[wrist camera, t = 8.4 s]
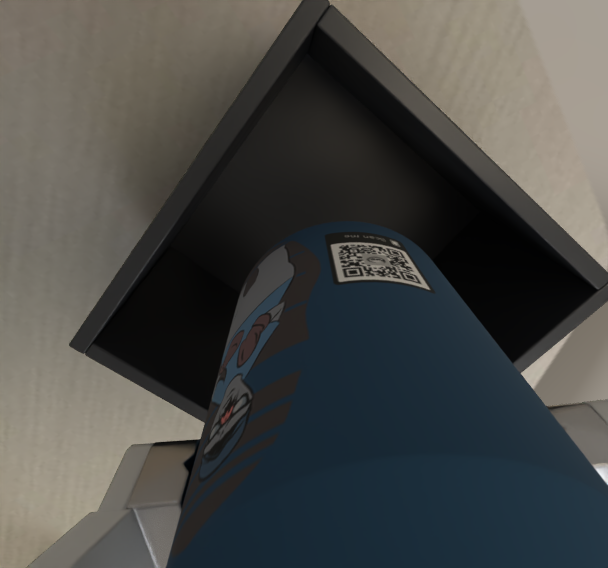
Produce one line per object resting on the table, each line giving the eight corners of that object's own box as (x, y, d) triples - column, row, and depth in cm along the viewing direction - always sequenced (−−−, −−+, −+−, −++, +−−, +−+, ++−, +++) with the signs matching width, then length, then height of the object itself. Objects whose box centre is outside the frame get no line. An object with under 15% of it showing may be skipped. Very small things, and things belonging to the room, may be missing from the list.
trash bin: (159, 242, 24) (67, 346, 15) (304, 34, 20) (312, -15, 11) (335, 362, 28) (356, 509, 18) (489, 206, 24) (624, 288, 14)
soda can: (412, 391, 17) (623, 938, 6) (236, 376, 17) (119, 938, 6) (458, 221, 14) (1014, 674, 3) (246, 198, 14) (52, 629, 3)
